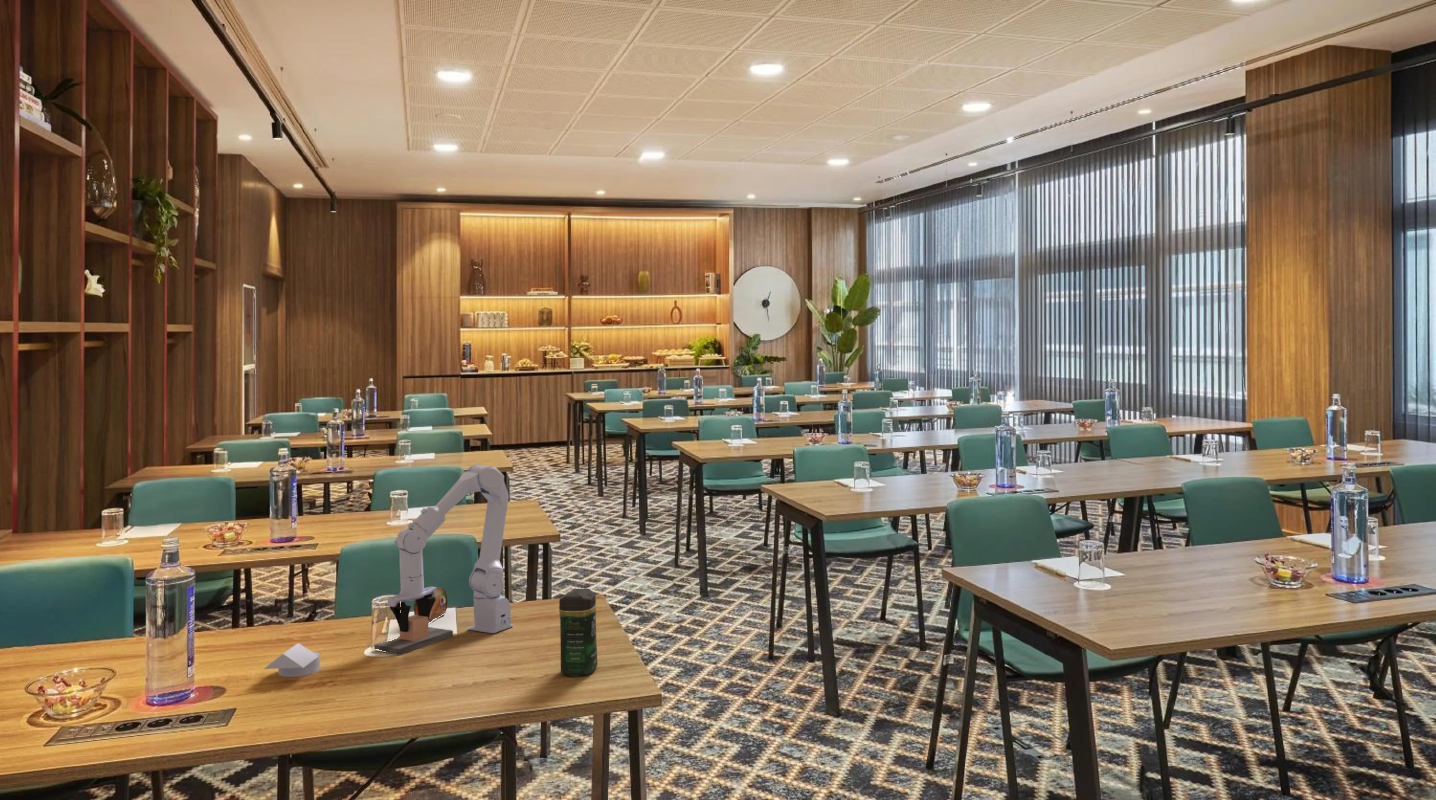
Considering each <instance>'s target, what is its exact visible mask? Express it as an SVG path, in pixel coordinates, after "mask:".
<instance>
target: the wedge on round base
mask: <svg viewBox="0 0 1436 800" xmlns="http://www.w3.org/2000/svg"><path fill="white" fill-rule="evenodd" d="M320 655H321V654H320V652H318V651H312V650H310V649H308V648H307V647H305V646H303V645H302V644H300V643H299V642H298V643H296V644H295V645H294V646H293V645H292V647H291V648H289V649H288V650H286V651H285V652H284V653H283V652H282V654H281V655H279V656H278V657H277V658H275V659H274V660H273V661H272V662H270V663H269V664H268V665H267V666H265V667H263V670H264V669H265V670H270V669H271V670H272V669H273V670H274V669H278V676H280V677H284V678H296V677H297V678H298V677H304V676H308V675H313V674H315V673H317V672H319V671H320V670H321V656H320Z"/></svg>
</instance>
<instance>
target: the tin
mask: <svg viewBox="0 0 1436 800" xmlns="http://www.w3.org/2000/svg"><path fill="white" fill-rule="evenodd" d="M436 590H437V594H436V595H432V596H433V597H436V601H435V603H434V604H433V607H432V609H431V612H430V615H429V620H428V623H429V622H431V621H432V620H433V619H435V618H438V617H439V616H441V615H442V614H444V613H445V614H446V611H447V609H448V596H447V595H448V594H447V593H446V589H445V588H443V587H442V586H441V587H440V586H439V587H436ZM445 614H444V615H445ZM413 615H418V616H419V612H418V607H417V603H416V600H414V603H413Z"/></svg>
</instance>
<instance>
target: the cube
mask: <svg viewBox="0 0 1436 800" xmlns="http://www.w3.org/2000/svg"><path fill="white" fill-rule="evenodd" d="M428 627H429V624H428V617H425V616H418V615H414V614H413V615H409V617H408V632H401V631H400V628H399V627H398V629H399V636H400V639H404V640H410V641H416V640H419V639H422V638H425V637H427V636H429V633H428Z"/></svg>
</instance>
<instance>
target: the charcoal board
mask: <svg viewBox="0 0 1436 800" xmlns="http://www.w3.org/2000/svg"><path fill="white" fill-rule="evenodd" d="M428 633H429V636H427V637H425V638H422V639H419V640H416V641H410V640H404V639H400V635H399V636H397V637H398V638H397V639H394V640H392V641H388V642H384V641H382V642H383V643H381V642H378V643H375V644H374V645H373V649H379V650H382V651H386V652H388V653H387V654H393V655H398V656H401V655H404V654H406V653H409V652H411V651H412V652H413V651H415V650H417V649H420V648H421V649H422V648H424V647H426V646H430V645H432V644H434V643H438V642H441V641H444V640H446V639H450V638H452V637H454V630H453V629H452V630H450V629H443V628H438V627H431V626H428ZM386 652H385V653H386Z"/></svg>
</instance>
